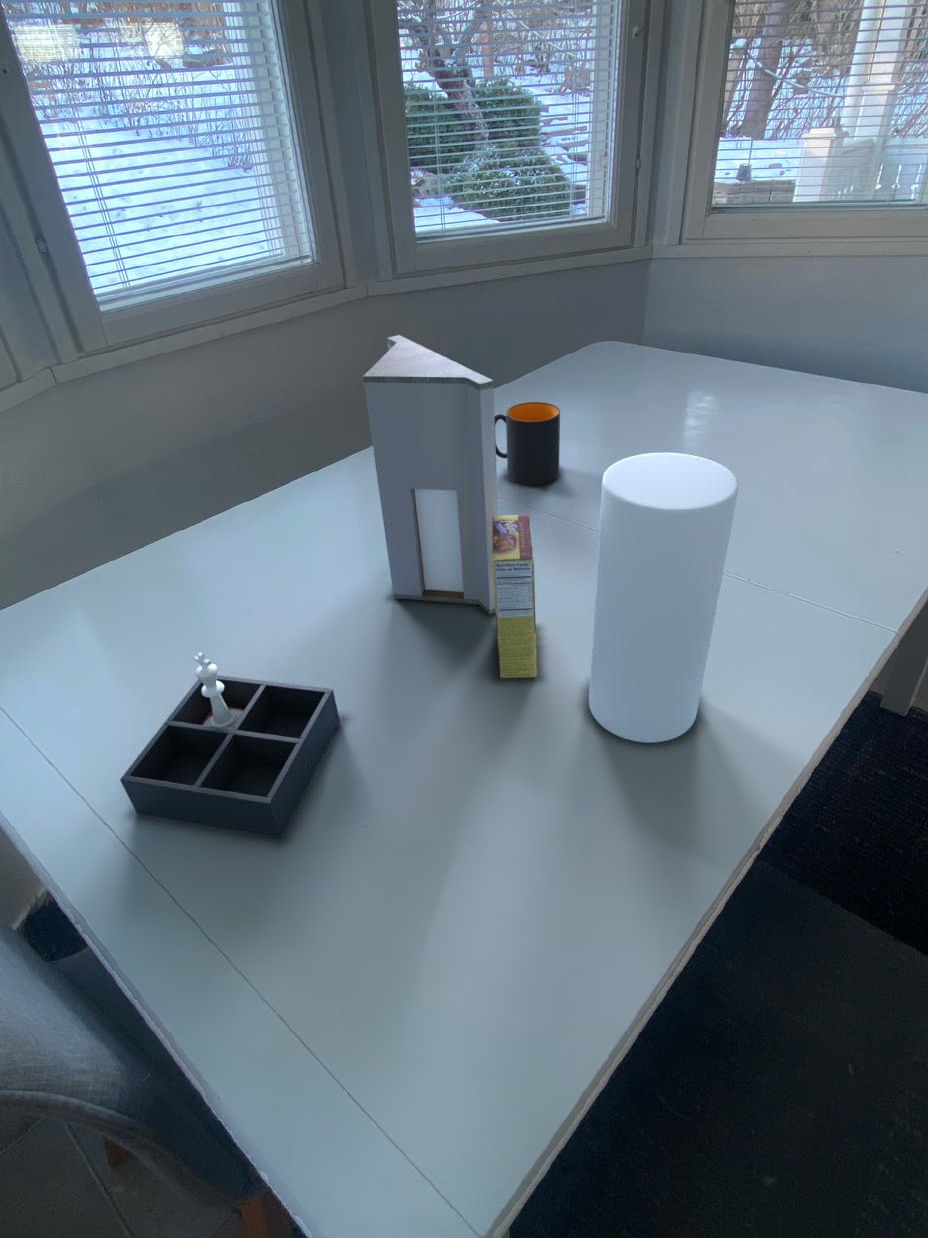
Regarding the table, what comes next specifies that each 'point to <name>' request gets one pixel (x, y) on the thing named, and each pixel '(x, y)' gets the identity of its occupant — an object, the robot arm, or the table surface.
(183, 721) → the tray
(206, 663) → the chess piece
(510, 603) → the candy box
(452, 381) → the cabinet
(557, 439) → the mug
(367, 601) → the table surface
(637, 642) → the tall pillar cylinder
